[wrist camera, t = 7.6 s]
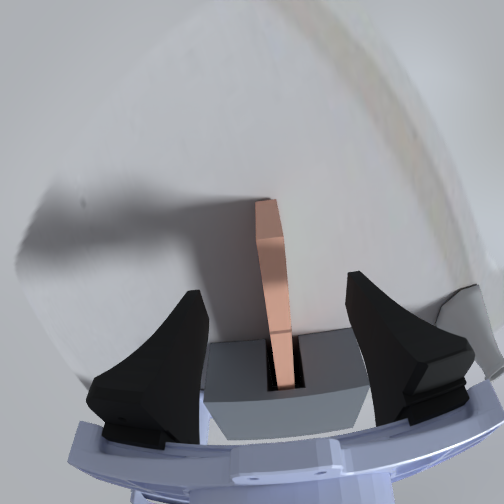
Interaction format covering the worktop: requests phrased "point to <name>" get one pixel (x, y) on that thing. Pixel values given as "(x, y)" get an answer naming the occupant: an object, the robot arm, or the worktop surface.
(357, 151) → the worktop surface
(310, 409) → the block
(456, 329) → the flask
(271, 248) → the strip
